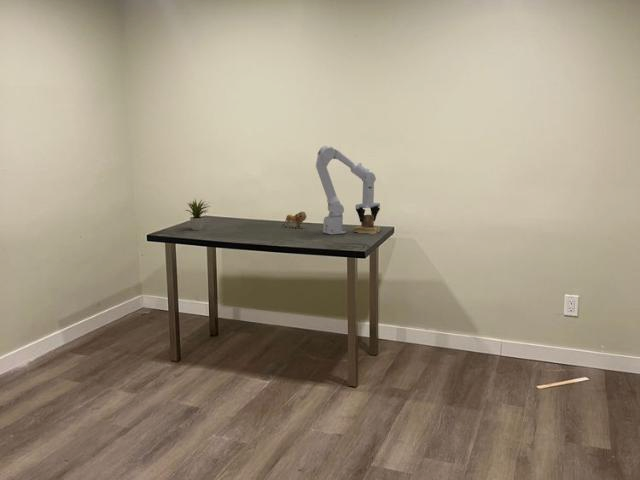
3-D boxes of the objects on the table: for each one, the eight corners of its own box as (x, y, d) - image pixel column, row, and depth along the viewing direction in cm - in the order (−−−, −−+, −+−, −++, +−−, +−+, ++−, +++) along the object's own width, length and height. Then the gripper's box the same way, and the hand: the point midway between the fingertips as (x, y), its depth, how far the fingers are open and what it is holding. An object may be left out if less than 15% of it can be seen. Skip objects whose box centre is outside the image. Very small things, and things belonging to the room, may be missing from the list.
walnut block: (366, 227, 306) (367, 216, 305) (361, 226, 310) (361, 215, 309) (373, 227, 309) (373, 215, 308) (368, 225, 312) (368, 214, 311)
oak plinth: (375, 234, 303) (375, 229, 303) (354, 232, 307) (354, 227, 306) (380, 230, 313) (380, 225, 313) (360, 229, 317) (360, 224, 316)
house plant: (204, 232, 305) (203, 200, 302) (179, 231, 308) (178, 199, 305) (215, 228, 319) (214, 197, 316) (190, 227, 321) (189, 196, 318)
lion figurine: (308, 227, 321) (308, 211, 320) (303, 229, 317) (303, 212, 315) (284, 225, 328) (284, 209, 326) (279, 227, 323) (279, 210, 321)
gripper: (361, 196, 299) (361, 223, 302) (384, 195, 307) (383, 221, 310) (353, 195, 305) (352, 221, 307) (375, 194, 313) (374, 219, 315)
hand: (367, 221), depth 309 cm, fingers open, 7 cm apart
